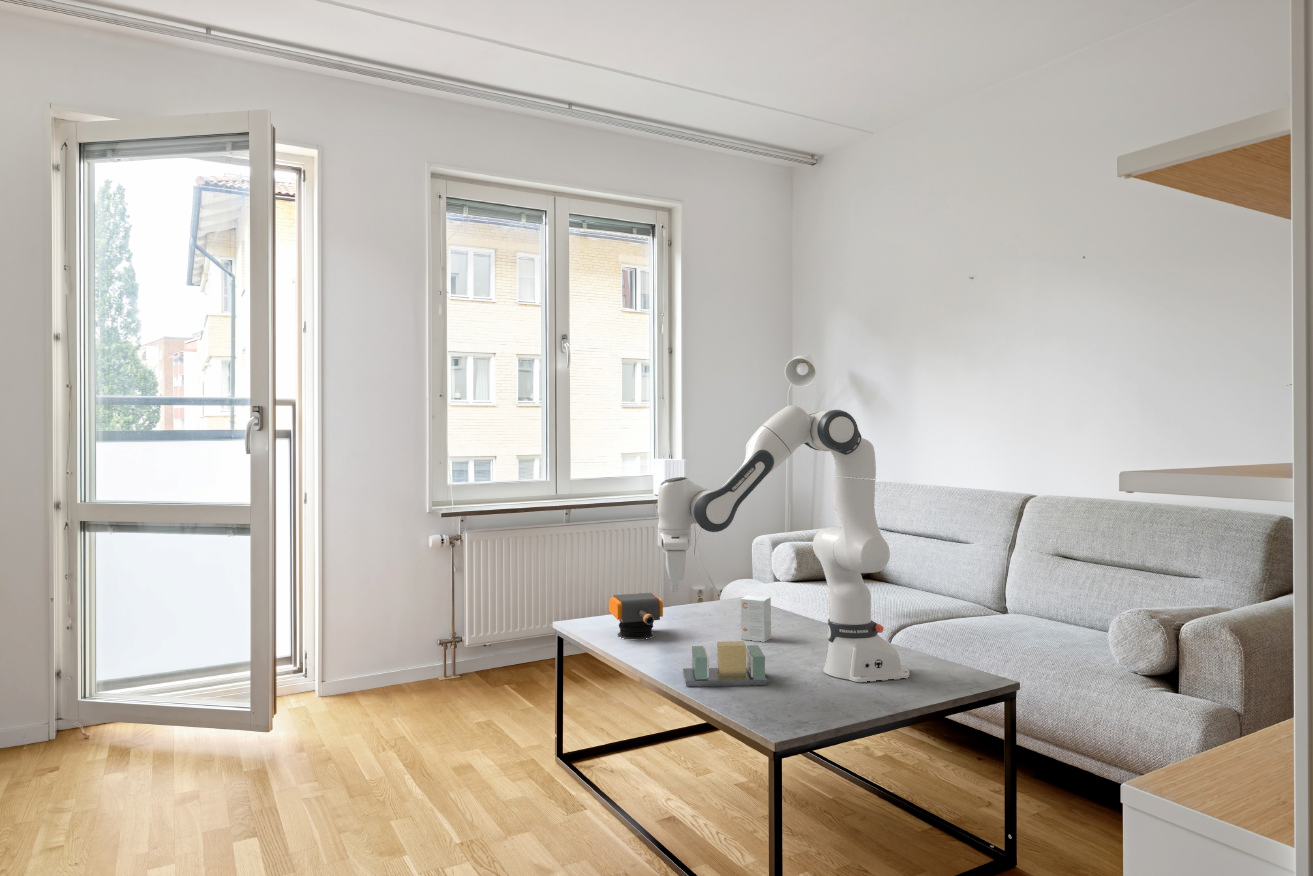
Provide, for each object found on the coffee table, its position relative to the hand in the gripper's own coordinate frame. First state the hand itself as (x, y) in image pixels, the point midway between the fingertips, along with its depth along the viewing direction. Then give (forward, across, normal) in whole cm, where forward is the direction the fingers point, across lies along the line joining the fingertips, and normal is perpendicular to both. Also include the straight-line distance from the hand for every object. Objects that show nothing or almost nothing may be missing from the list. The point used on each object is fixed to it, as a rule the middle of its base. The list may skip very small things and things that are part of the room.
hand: (674, 591), depth 220 cm
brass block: (+22, 0, +15) cm, 27 cm away
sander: (+24, -43, -8) cm, 50 cm away
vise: (+24, 0, +13) cm, 27 cm away
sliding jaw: (+22, 0, +7) cm, 23 cm away
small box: (+24, -42, +28) cm, 55 cm away
